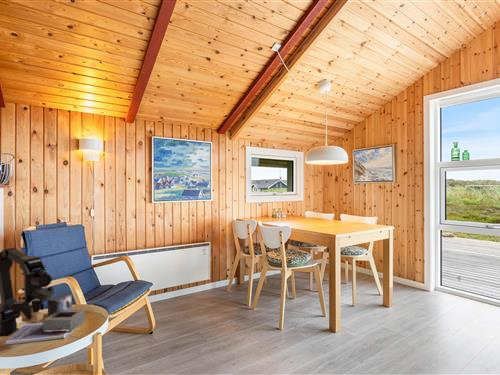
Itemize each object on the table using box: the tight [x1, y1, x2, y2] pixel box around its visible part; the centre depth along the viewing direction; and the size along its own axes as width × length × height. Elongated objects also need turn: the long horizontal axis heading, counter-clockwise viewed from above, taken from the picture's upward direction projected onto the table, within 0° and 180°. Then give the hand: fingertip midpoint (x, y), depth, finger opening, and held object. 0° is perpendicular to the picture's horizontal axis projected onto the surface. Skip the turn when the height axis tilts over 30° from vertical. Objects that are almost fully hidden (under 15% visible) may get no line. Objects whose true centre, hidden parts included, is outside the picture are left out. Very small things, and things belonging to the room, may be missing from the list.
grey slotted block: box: [42, 309, 86, 333], centre depth 148 cm, size 14×12×6 cm
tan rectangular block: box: [21, 311, 44, 323], centre depth 134 cm, size 8×4×3 cm, turn 83°
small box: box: [47, 292, 73, 317], centre depth 163 cm, size 11×6×10 cm, turn 168°
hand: (32, 317), depth 134 cm, fingers closed on tan rectangular block, 4 cm apart
